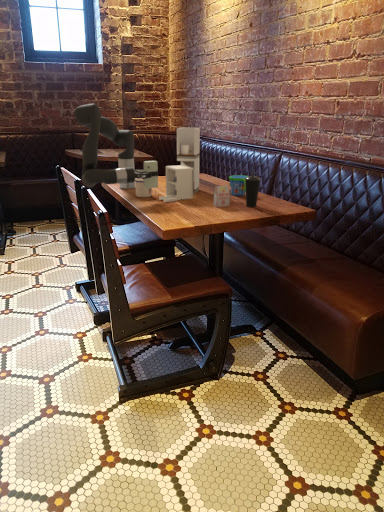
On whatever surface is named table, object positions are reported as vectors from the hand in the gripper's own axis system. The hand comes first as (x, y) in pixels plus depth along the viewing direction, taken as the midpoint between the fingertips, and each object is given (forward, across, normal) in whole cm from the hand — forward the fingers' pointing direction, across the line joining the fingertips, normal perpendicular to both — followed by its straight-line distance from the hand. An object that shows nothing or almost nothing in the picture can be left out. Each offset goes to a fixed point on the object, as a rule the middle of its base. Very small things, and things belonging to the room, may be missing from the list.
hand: (155, 172), depth 205 cm
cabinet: (+11, +2, +15) cm, 18 cm away
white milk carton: (+24, -25, +14) cm, 38 cm away
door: (-3, 0, +7) cm, 8 cm away
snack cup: (+47, -6, +15) cm, 50 cm away
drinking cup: (+37, -32, +14) cm, 51 cm away
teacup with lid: (-1, +16, +15) cm, 22 cm away
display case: (+27, +16, +15) cm, 35 cm away
